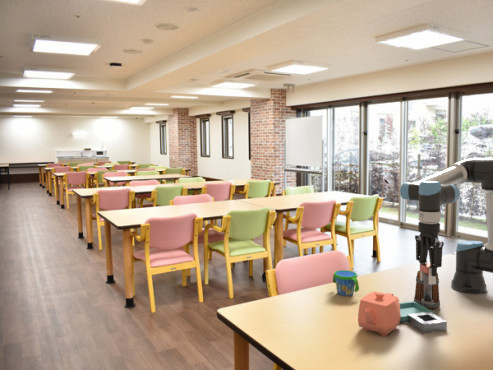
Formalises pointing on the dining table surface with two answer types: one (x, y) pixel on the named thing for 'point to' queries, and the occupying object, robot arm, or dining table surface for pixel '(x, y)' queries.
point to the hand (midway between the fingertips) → (428, 281)
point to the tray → (411, 310)
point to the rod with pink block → (426, 285)
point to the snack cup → (345, 282)
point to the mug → (420, 293)
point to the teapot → (379, 312)
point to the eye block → (426, 322)
